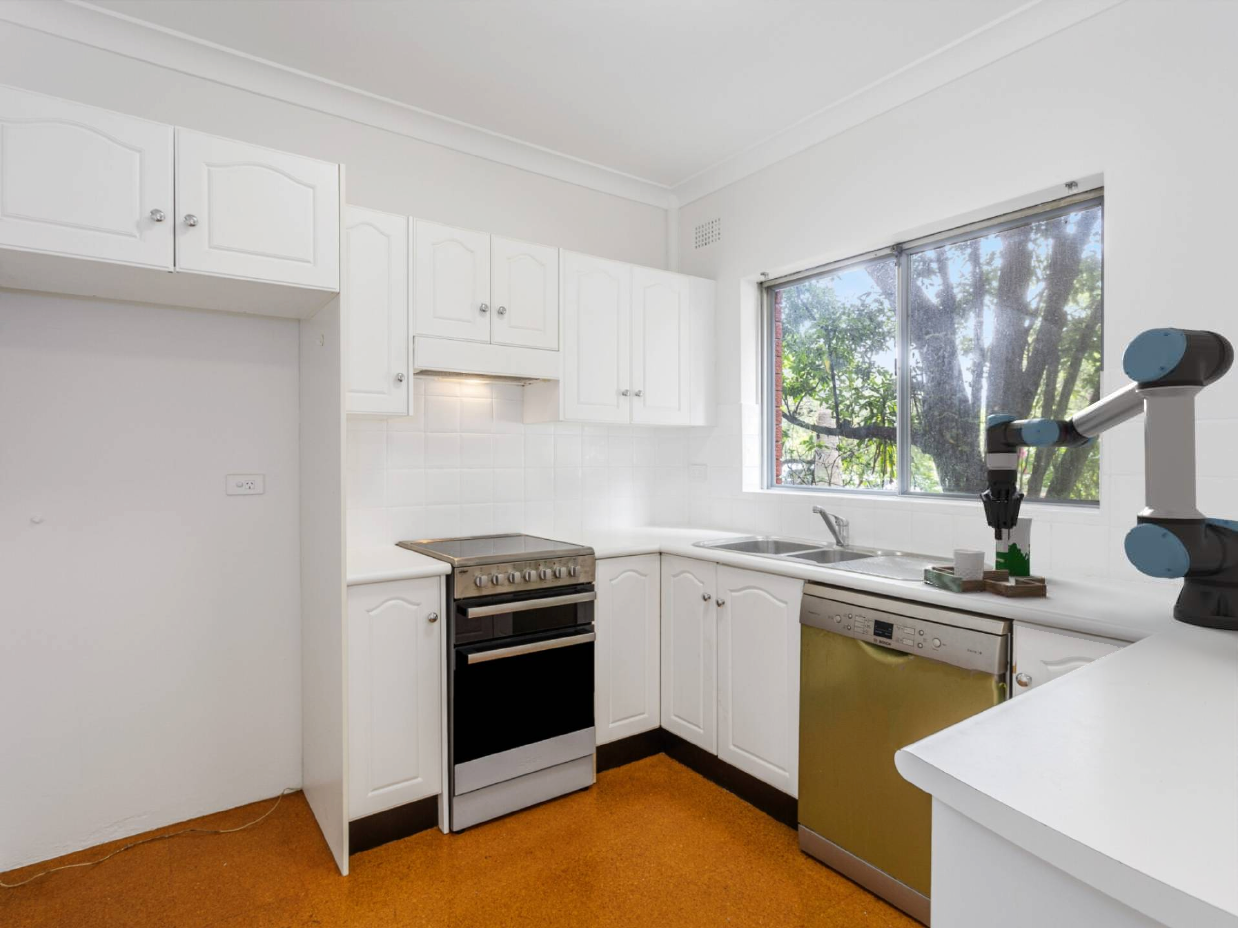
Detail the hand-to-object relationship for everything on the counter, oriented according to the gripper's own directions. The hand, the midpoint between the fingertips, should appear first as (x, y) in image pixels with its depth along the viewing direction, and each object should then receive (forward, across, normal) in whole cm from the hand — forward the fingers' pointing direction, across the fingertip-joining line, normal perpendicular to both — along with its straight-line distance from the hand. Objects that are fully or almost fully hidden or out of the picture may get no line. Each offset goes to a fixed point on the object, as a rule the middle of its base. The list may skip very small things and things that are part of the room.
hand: (1002, 551), depth 191 cm
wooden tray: (+10, +5, -1) cm, 11 cm away
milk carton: (+10, -18, -17) cm, 26 cm away
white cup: (+10, +10, -1) cm, 14 cm away
